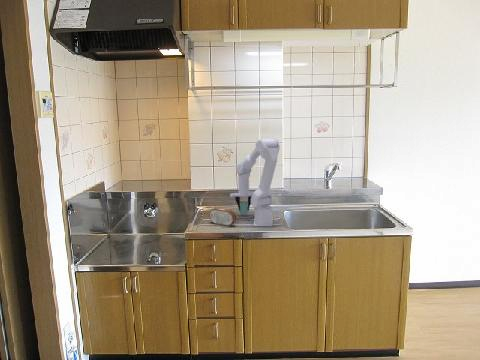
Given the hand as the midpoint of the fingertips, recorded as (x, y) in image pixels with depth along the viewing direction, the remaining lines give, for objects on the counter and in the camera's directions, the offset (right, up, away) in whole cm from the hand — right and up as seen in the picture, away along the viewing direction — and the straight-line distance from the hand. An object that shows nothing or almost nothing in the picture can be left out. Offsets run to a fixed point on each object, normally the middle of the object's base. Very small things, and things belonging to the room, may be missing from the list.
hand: (243, 210), depth 212 cm
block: (0, -1, 0) cm, 2 cm away
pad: (0, -4, +1) cm, 4 cm away
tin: (-11, -7, -12) cm, 17 cm away
